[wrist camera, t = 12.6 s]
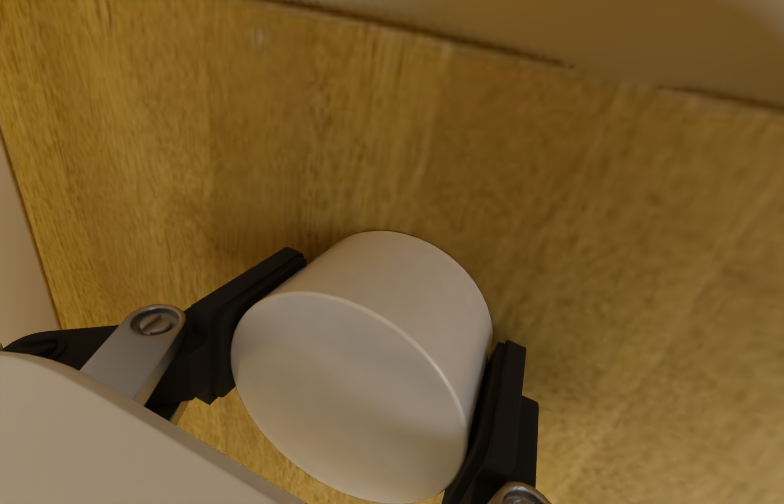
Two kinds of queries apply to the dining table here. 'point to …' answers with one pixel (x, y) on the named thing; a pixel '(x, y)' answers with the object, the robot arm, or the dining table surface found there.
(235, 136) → the dining table surface
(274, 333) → the white cylindrical puck
